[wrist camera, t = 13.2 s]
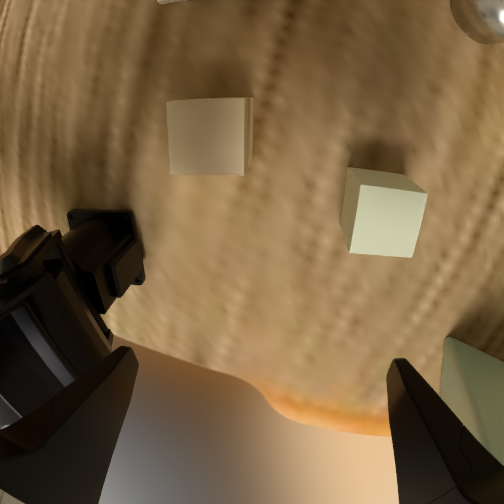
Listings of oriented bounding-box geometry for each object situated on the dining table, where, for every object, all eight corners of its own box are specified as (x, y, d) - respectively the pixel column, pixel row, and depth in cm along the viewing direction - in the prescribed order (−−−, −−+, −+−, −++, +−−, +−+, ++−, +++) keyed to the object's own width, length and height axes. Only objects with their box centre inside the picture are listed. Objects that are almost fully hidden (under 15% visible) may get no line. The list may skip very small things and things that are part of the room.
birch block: (192, 158, 19) (170, 174, 16) (190, 98, 17) (166, 101, 14) (253, 159, 19) (243, 175, 15) (253, 97, 17) (244, 97, 13)
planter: (396, 382, 28) (420, 554, 11) (448, 334, 24) (505, 523, 7) (471, 402, 29) (500, 522, 12) (512, 365, 26) (556, 489, 8)
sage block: (339, 223, 20) (349, 252, 17) (347, 166, 18) (360, 184, 15) (393, 229, 20) (411, 257, 16) (404, 174, 18) (427, 193, 14)
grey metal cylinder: (452, 31, 12) (487, 23, 8) (447, -20, 10) (478, -37, 6) (499, 52, 12) (538, 51, 8) (495, 2, 9) (531, -6, 6)
